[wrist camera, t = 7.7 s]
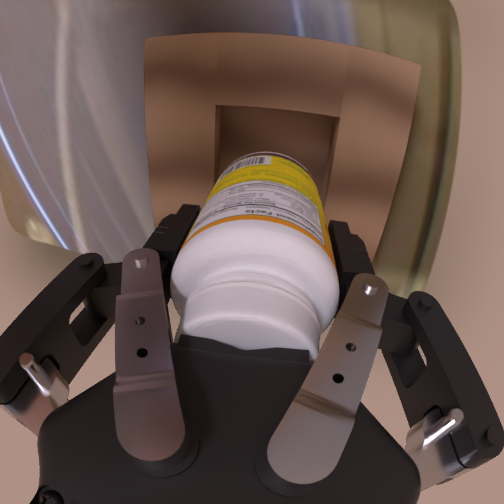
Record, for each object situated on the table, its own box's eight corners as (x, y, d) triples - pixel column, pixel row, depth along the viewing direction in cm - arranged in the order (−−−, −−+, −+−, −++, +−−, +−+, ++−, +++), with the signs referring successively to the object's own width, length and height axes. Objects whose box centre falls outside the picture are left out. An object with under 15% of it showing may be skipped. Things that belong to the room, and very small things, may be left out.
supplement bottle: (285, 255, 18) (277, 419, 10) (201, 213, 17) (129, 367, 8) (339, 182, 15) (394, 344, 6) (245, 128, 14) (176, 245, 5)
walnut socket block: (161, 40, 17) (144, 38, 14) (404, 64, 16) (421, 65, 14) (170, 238, 28) (159, 257, 25) (359, 259, 27) (365, 280, 24)
